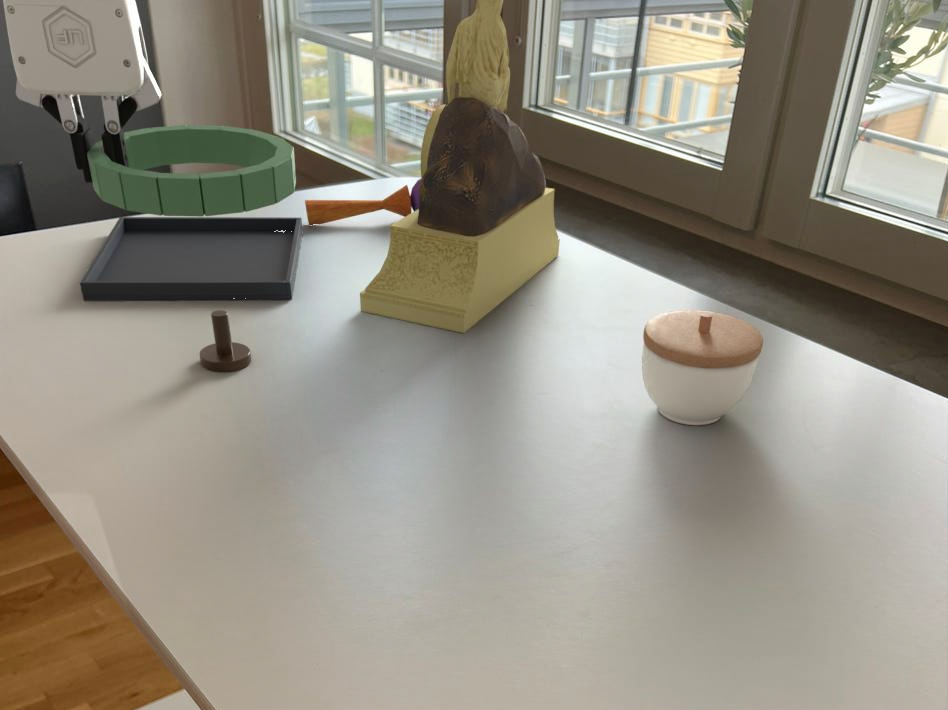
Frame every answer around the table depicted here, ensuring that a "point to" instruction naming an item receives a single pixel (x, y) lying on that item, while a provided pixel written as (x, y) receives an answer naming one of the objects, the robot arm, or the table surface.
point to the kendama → (362, 206)
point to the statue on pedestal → (469, 197)
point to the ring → (195, 193)
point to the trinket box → (698, 364)
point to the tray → (196, 259)
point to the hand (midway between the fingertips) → (105, 177)
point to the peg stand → (224, 348)
